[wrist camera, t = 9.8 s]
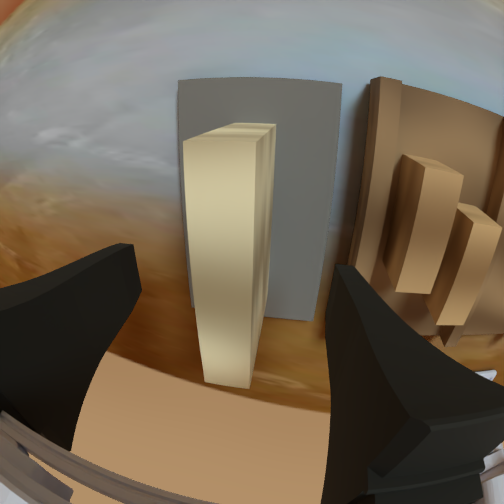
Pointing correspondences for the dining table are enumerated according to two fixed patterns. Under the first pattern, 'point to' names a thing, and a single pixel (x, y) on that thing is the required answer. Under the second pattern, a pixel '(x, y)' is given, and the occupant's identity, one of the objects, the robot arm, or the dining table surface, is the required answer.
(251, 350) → the birch panel
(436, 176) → the teak offcut
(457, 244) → the teak offcut
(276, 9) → the dining table surface
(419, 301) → the walnut rack
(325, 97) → the charcoal mat
